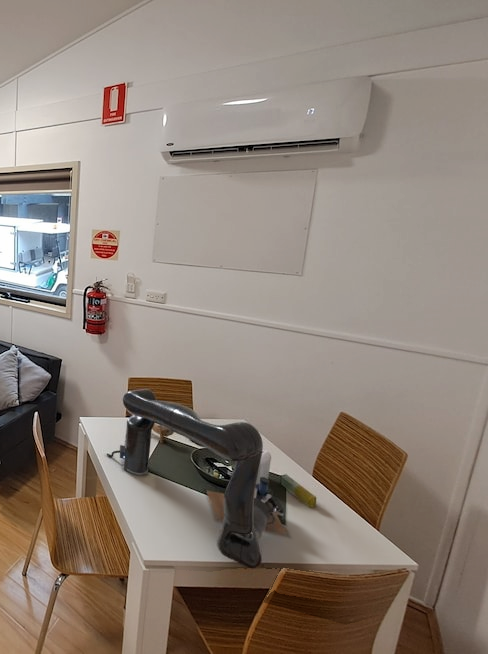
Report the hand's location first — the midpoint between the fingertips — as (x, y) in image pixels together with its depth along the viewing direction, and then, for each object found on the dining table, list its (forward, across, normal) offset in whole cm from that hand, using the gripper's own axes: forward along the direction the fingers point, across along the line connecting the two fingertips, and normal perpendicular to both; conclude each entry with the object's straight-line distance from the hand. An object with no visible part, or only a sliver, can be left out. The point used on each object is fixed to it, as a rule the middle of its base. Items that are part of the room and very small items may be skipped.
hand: (264, 488), depth 128 cm
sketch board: (-7, +4, +7) cm, 11 cm away
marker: (-3, 0, +7) cm, 7 cm away
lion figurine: (+15, +42, +8) cm, 45 cm away
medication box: (+16, -8, +8) cm, 19 cm away
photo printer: (+14, +4, +8) cm, 17 cm away
